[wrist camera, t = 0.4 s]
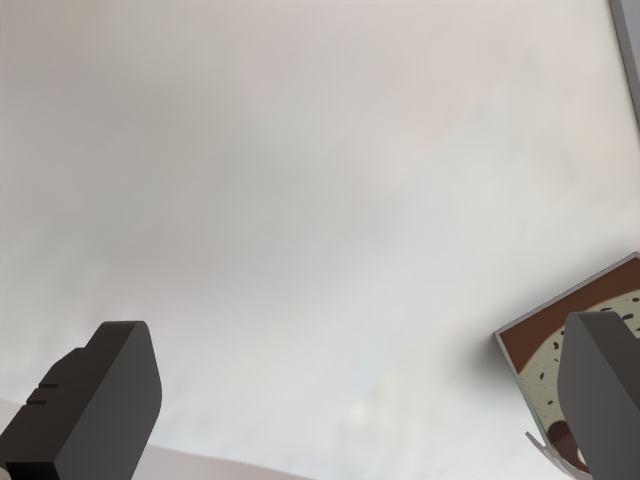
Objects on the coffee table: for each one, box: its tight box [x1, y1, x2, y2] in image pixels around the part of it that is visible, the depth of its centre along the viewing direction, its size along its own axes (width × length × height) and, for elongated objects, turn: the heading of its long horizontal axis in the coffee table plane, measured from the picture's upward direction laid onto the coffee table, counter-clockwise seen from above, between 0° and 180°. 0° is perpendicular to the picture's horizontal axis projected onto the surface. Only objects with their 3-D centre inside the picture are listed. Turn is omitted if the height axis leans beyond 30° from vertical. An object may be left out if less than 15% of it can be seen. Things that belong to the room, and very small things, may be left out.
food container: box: [494, 252, 640, 480], centre depth 30 cm, size 12×6×10 cm, turn 123°
